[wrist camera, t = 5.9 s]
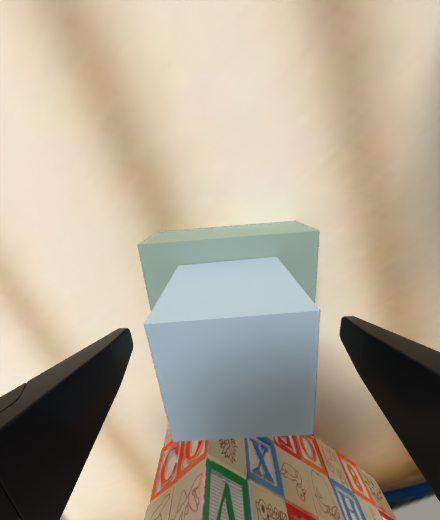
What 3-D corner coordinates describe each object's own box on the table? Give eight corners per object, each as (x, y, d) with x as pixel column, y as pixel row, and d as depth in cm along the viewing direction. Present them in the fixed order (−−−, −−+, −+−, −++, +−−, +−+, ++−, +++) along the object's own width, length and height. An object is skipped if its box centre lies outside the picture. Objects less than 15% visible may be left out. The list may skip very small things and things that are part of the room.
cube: (276, 256, 11) (320, 310, 6) (278, 339, 12) (313, 434, 7) (178, 265, 11) (143, 324, 6) (192, 345, 12) (173, 441, 8)
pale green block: (293, 220, 14) (319, 230, 10) (291, 312, 16) (312, 349, 12) (160, 230, 14) (137, 244, 11) (175, 319, 17) (160, 357, 13)
